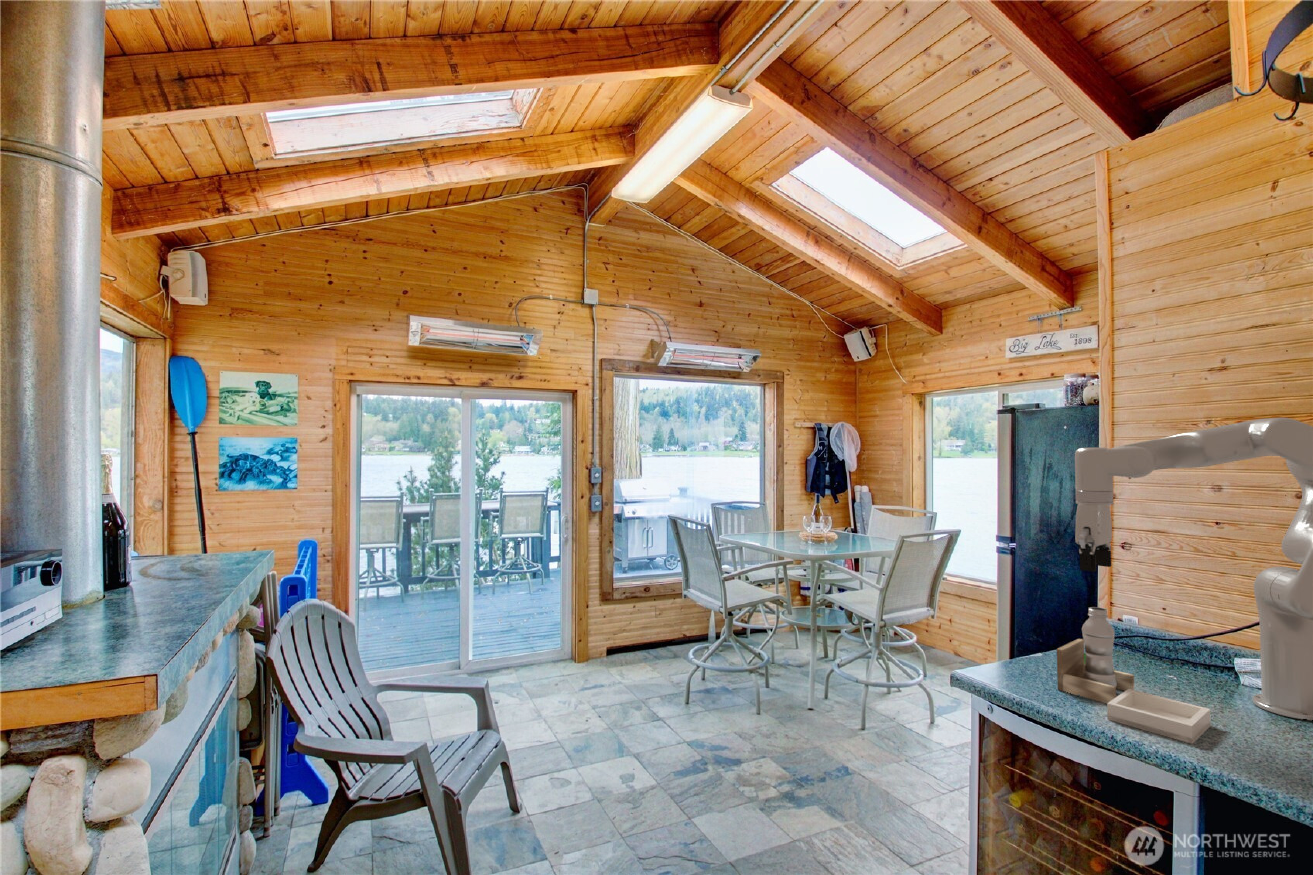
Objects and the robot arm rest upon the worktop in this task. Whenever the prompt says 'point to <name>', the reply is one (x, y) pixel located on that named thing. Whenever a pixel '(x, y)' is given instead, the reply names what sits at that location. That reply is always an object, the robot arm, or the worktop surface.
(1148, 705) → the tray
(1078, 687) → the bay
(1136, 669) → the worktop surface
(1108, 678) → the plastic bottle
